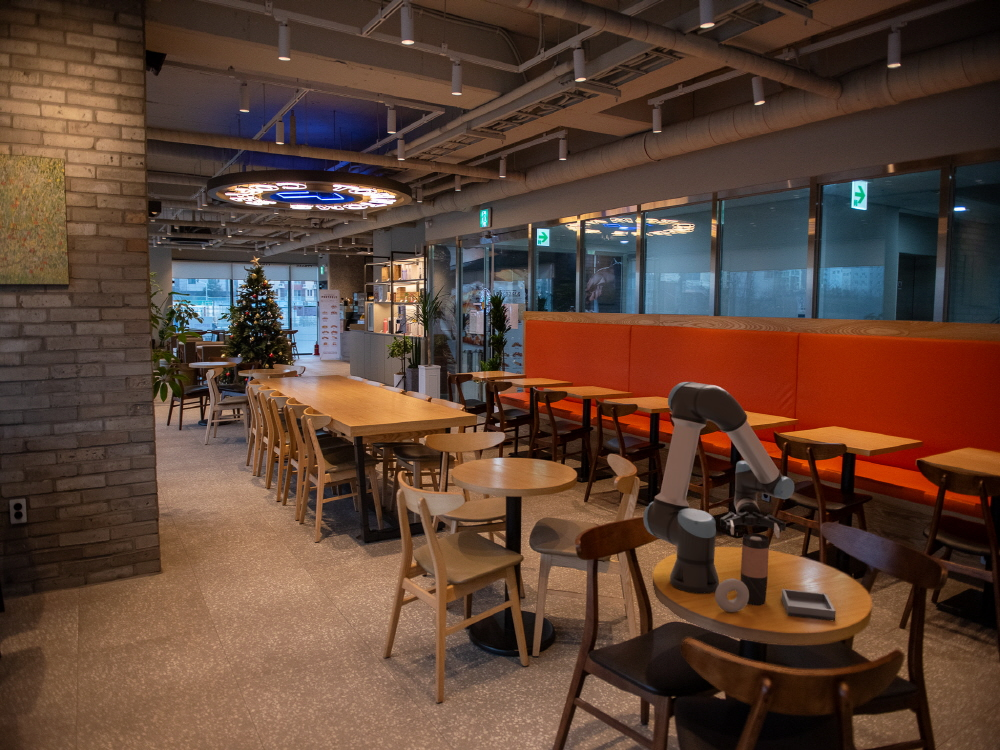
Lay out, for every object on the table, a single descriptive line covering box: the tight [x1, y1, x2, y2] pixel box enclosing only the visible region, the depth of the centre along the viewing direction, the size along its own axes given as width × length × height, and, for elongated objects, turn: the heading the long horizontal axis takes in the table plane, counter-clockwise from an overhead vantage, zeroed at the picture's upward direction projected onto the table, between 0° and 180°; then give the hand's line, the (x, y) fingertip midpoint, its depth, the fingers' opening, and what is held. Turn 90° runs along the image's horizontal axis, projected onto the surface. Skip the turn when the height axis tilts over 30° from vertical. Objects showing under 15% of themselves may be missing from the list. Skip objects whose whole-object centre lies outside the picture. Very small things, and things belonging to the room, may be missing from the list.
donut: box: [714, 577, 749, 613], centre depth 201 cm, size 10×4×10 cm, turn 93°
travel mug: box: [740, 532, 770, 607], centre depth 208 cm, size 8×8×20 cm
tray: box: [780, 588, 837, 622], centre depth 203 cm, size 13×13×3 cm
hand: (755, 532), depth 217 cm, fingers open, 13 cm apart
